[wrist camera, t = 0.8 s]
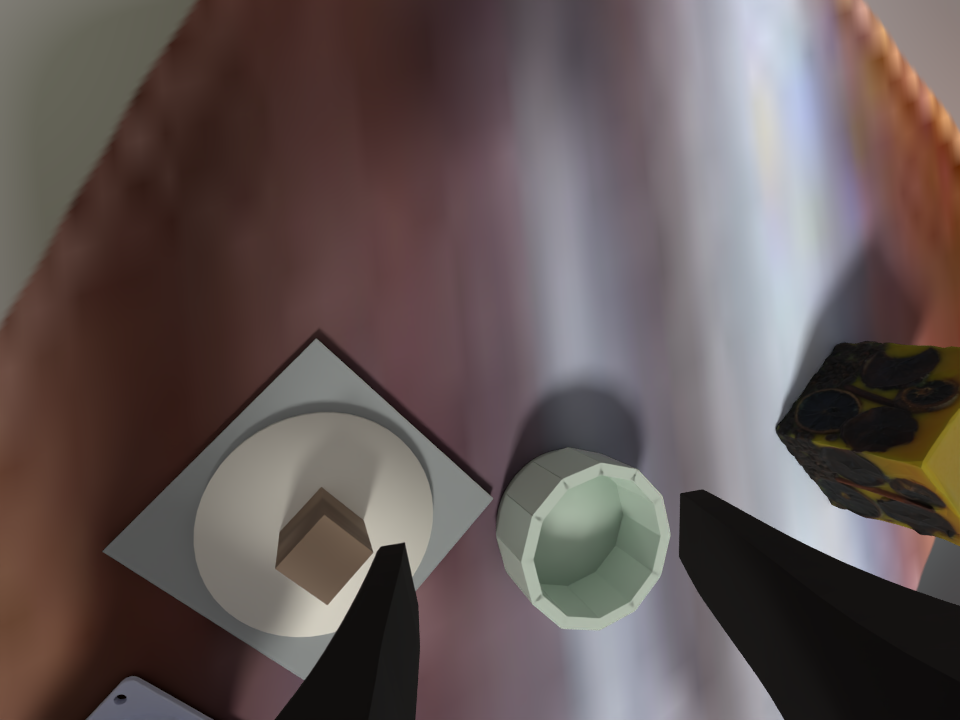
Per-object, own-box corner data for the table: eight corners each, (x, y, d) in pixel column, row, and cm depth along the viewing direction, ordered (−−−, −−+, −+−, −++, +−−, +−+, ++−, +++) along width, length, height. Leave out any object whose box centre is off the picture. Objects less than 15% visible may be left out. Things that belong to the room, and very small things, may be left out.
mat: (327, 688, 28) (327, 695, 27) (106, 547, 24) (102, 551, 23) (490, 495, 30) (493, 498, 30) (316, 338, 26) (316, 338, 26)
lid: (327, 670, 27) (331, 736, 23) (137, 547, 23) (99, 597, 19) (471, 501, 29) (499, 531, 25) (317, 365, 26) (319, 373, 21)
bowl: (560, 616, 32) (599, 660, 28) (463, 533, 30) (489, 568, 25) (646, 504, 34) (694, 530, 30) (561, 416, 31) (601, 430, 27)
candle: (892, 417, 43) (1058, 443, 33) (831, 508, 41) (989, 563, 31) (837, 337, 40) (1002, 340, 30) (769, 432, 38) (922, 467, 28)
